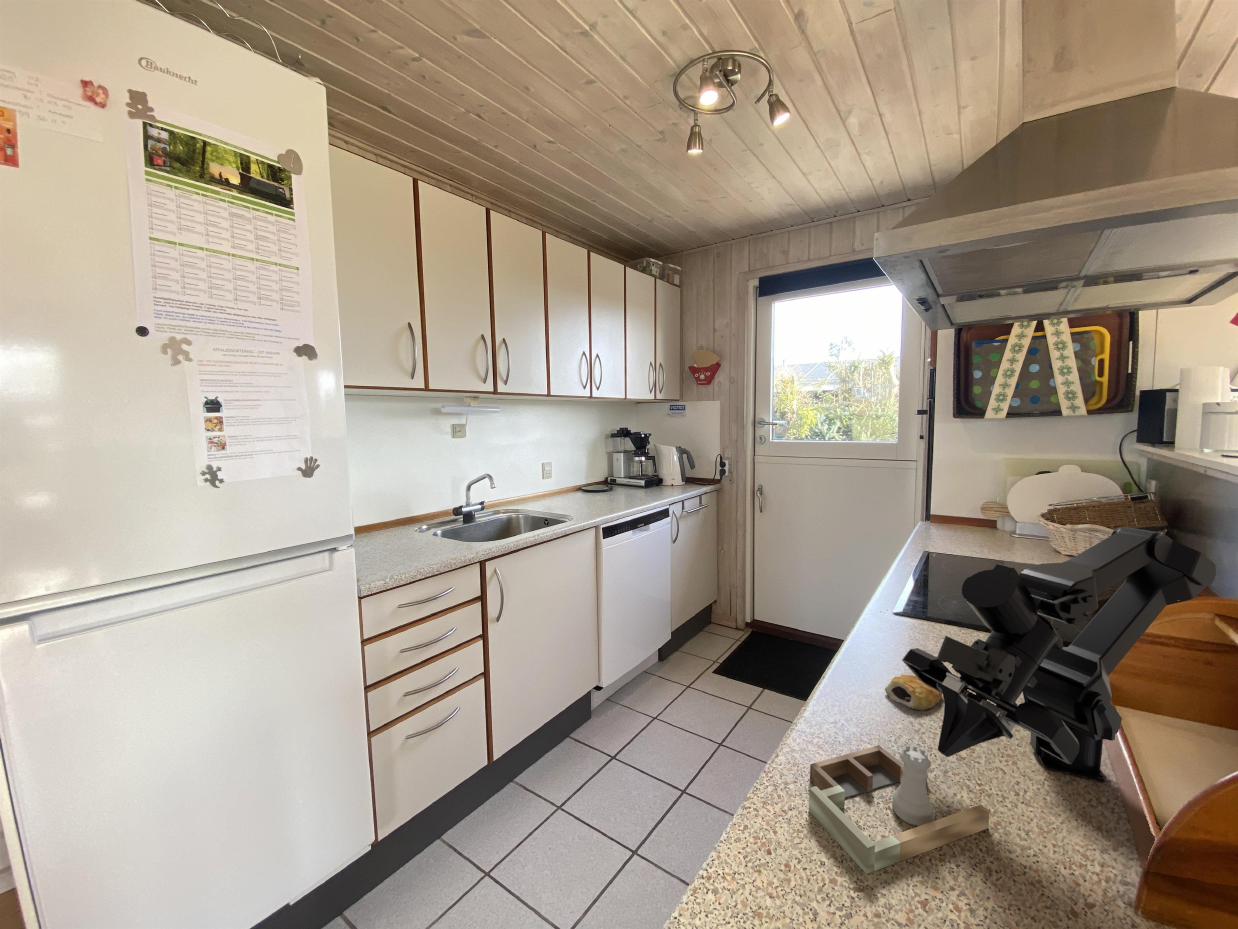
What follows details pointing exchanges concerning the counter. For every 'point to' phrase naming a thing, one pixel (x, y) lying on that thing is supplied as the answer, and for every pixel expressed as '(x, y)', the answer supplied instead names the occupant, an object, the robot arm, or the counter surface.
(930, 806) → the rook chess piece
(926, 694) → the pastry
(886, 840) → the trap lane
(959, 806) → the counter surface
